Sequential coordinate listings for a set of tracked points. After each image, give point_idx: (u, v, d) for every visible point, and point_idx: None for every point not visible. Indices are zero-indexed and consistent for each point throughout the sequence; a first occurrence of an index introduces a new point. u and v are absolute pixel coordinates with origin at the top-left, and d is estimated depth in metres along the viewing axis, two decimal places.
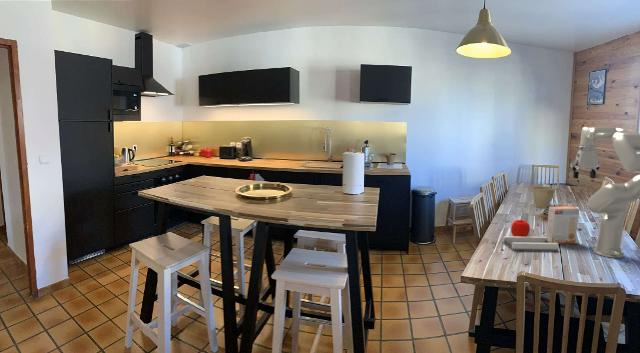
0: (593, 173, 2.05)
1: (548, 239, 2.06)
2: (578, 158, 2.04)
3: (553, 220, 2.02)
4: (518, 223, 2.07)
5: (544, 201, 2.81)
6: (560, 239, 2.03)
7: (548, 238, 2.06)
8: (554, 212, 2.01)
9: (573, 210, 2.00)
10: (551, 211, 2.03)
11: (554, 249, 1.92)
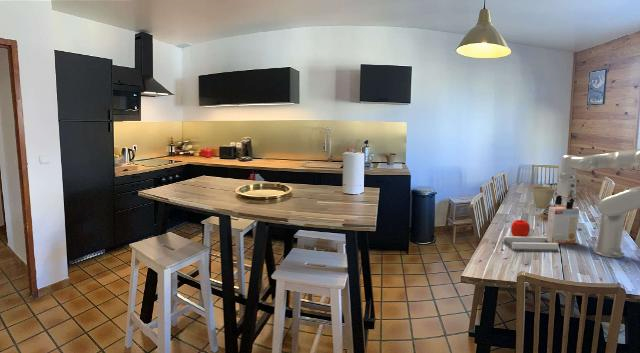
0: (560, 199, 2.07)
1: (548, 239, 2.06)
2: (573, 188, 1.96)
3: (553, 220, 2.02)
4: (518, 223, 2.07)
5: (544, 201, 2.81)
6: (560, 239, 2.03)
7: (548, 238, 2.06)
8: (554, 212, 2.01)
9: (573, 210, 2.00)
10: (551, 211, 2.03)
11: (554, 249, 1.92)
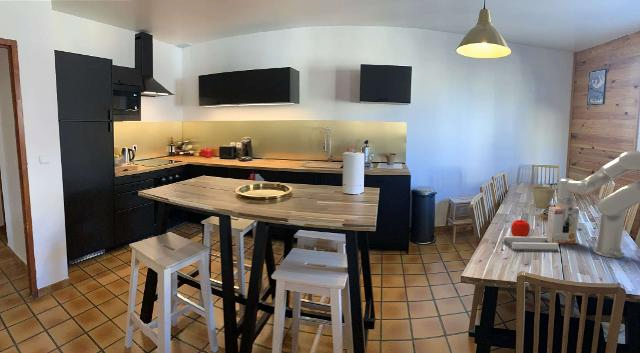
0: None
1: (548, 239, 2.06)
2: (570, 212, 1.98)
3: (553, 220, 2.02)
4: (518, 223, 2.07)
5: (544, 201, 2.81)
6: (560, 239, 2.03)
7: (548, 238, 2.06)
8: (554, 212, 2.01)
9: None
10: (551, 211, 2.03)
11: (554, 249, 1.92)
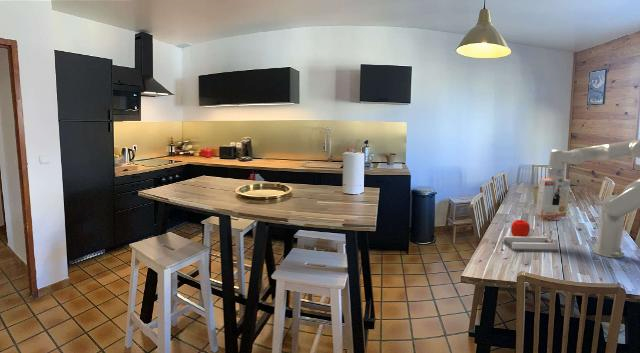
0: None
1: (538, 212, 2.01)
2: (561, 183, 1.92)
3: (543, 192, 1.96)
4: (518, 223, 2.07)
5: None
6: (550, 211, 1.97)
7: (538, 211, 2.01)
8: (544, 183, 1.96)
9: (564, 182, 1.95)
10: (541, 183, 1.98)
11: (554, 249, 1.92)
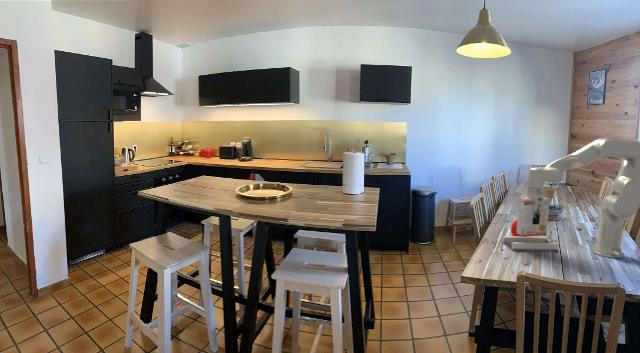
0: None
1: (518, 231, 1.97)
2: (540, 202, 1.89)
3: (523, 211, 1.93)
4: None
5: None
6: (530, 231, 1.94)
7: (518, 230, 1.97)
8: (523, 202, 1.92)
9: None
10: (521, 202, 1.94)
11: (554, 249, 1.92)
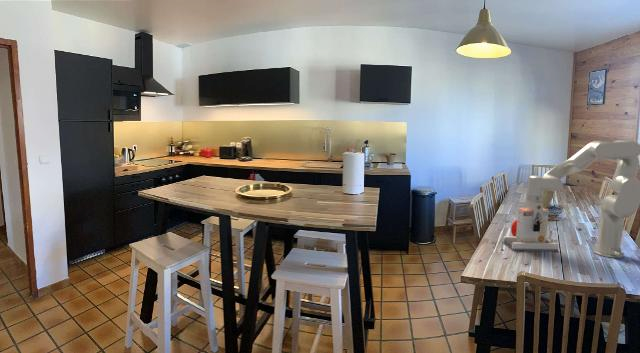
0: None
1: (517, 241, 1.98)
2: (539, 210, 1.90)
3: (522, 222, 1.94)
4: None
5: (544, 201, 2.81)
6: (529, 241, 1.95)
7: (517, 240, 1.98)
8: (522, 213, 1.93)
9: None
10: (520, 212, 1.95)
11: (554, 249, 1.92)
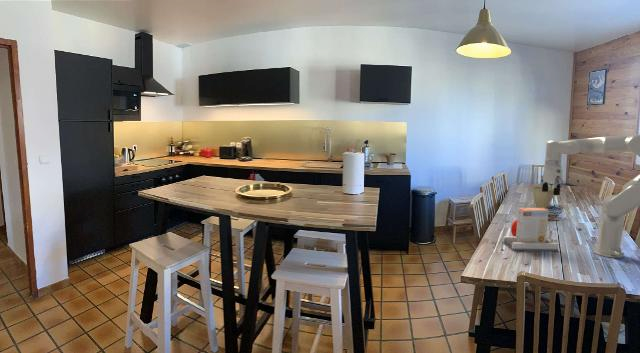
0: (547, 186, 2.03)
1: (517, 241, 1.98)
2: (559, 174, 1.93)
3: (522, 222, 1.94)
4: None
5: (544, 201, 2.81)
6: (529, 241, 1.95)
7: (517, 240, 1.98)
8: (522, 213, 1.93)
9: (542, 212, 1.93)
10: (520, 212, 1.95)
11: (554, 249, 1.92)
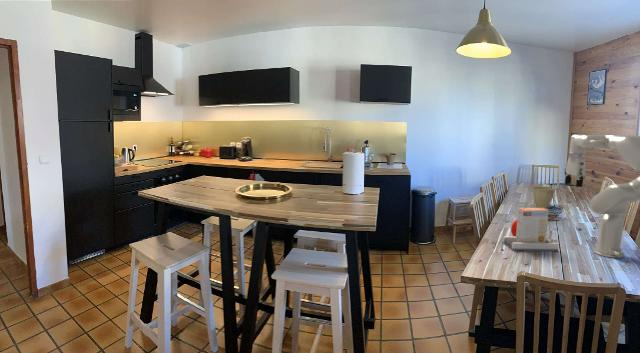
0: (570, 178, 2.12)
1: None
2: (582, 166, 2.02)
3: (522, 222, 1.94)
4: None
5: (544, 201, 2.81)
6: (529, 241, 1.95)
7: (517, 240, 1.98)
8: (522, 213, 1.93)
9: (542, 212, 1.93)
10: (520, 212, 1.95)
11: (554, 249, 1.92)
